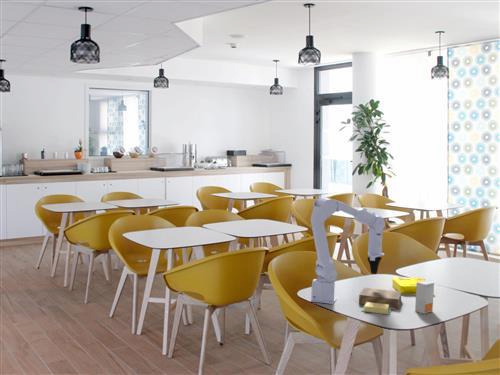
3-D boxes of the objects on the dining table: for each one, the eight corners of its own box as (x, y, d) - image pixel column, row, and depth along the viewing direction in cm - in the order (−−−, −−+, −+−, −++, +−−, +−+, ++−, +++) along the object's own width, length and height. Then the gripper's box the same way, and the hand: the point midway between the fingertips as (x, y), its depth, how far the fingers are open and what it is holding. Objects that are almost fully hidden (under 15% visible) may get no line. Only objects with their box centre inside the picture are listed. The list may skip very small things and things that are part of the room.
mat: (361, 311, 222) (361, 310, 222) (364, 304, 230) (364, 304, 230) (389, 314, 218) (389, 313, 218) (391, 308, 226) (392, 307, 226)
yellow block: (366, 301, 227) (366, 306, 227) (364, 306, 221) (364, 310, 221) (389, 304, 223) (388, 309, 224) (387, 308, 218) (387, 313, 218)
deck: (358, 304, 231) (359, 294, 231) (363, 296, 242) (363, 287, 242) (398, 308, 225) (398, 299, 225) (401, 300, 237) (401, 291, 236)
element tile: (400, 295, 247) (401, 284, 246) (391, 286, 261) (391, 276, 261) (433, 295, 247) (434, 285, 247) (422, 286, 262) (422, 276, 261)
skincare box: (423, 314, 219) (425, 284, 218) (414, 311, 223) (416, 282, 222) (433, 311, 223) (434, 282, 222) (424, 308, 226) (425, 280, 225)
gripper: (382, 246, 231) (381, 278, 233) (386, 240, 245) (385, 270, 246) (365, 245, 234) (364, 276, 235) (370, 239, 247) (369, 269, 249)
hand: (374, 273), depth 241 cm, fingers closed
